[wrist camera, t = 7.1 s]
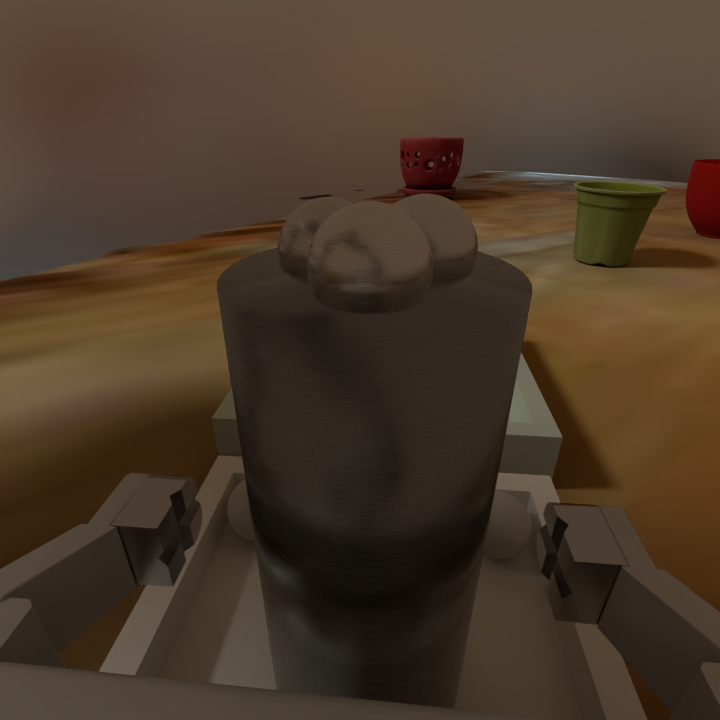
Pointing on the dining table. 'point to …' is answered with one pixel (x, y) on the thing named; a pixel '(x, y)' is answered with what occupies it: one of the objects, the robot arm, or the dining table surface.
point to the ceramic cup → (704, 197)
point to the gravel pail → (372, 437)
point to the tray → (485, 638)
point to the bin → (521, 445)
